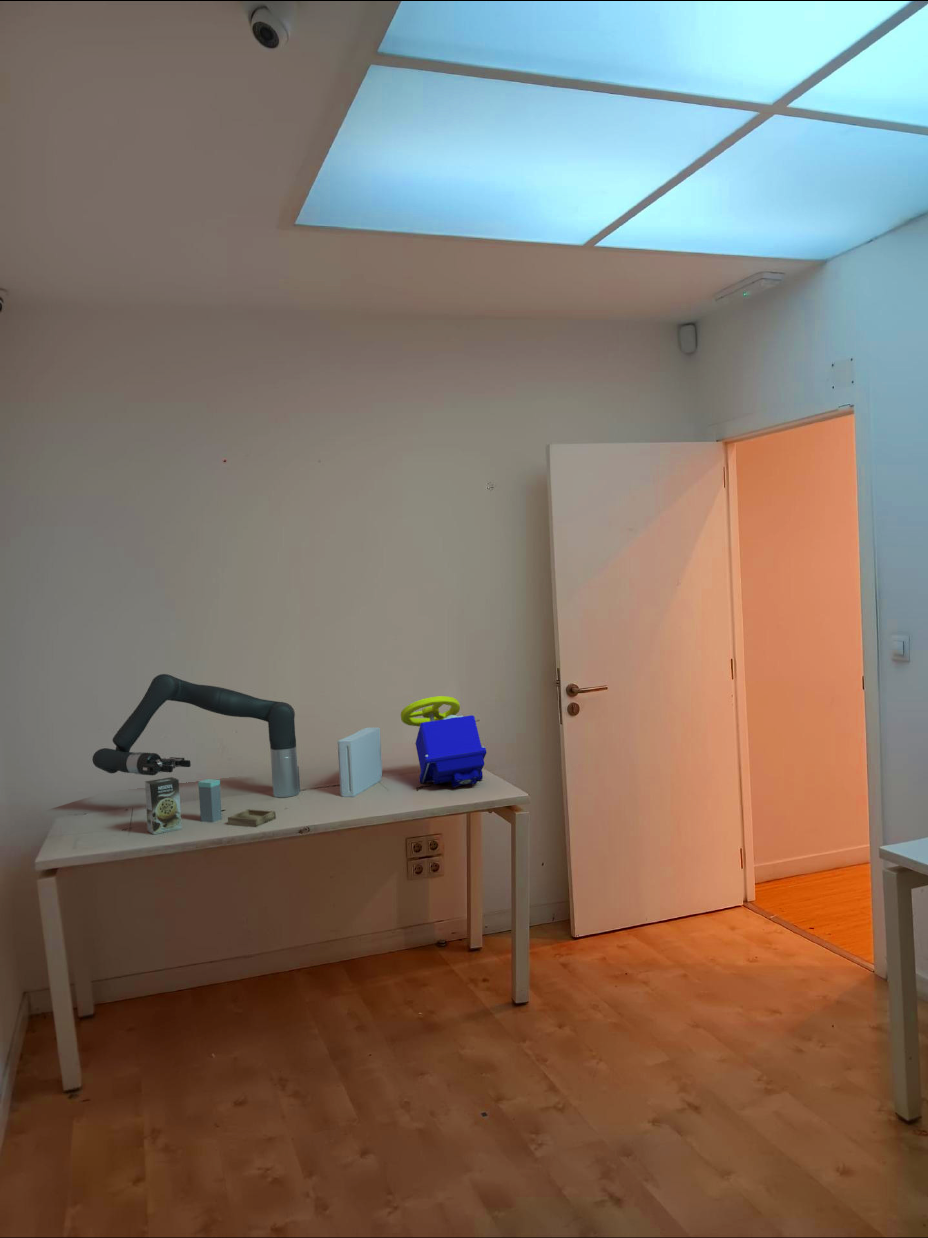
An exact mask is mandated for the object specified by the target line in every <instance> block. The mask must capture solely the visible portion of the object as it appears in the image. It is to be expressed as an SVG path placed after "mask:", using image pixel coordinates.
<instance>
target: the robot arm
mask: <svg viewBox="0 0 928 1238" xmlns="http://www.w3.org/2000/svg"><path fill="white" fill-rule="evenodd" d="M167 701H171V702H178V703H180V702H181V703H185V704H189V705H192V706H195V707H198V708H199V709H202V710H206V711H209V712H212V713H215V714H218V715H219V714H220V715H223V716H227V717H236V718H237V717H238V718H249V719H250V718H252V719H257V720H260V721H264V722H266V723H267V725H268V740H269V747H270V761H271V762H270V763H271V781H272V796H273V797H275V798H287V797H290V798H291V797H294V796H297V795H299V793H300V792H301V783H300V782H301V781H300V767H299V766H298V754H297V737H296V730H295V729H296V728H295V727H296V726H295V717H296V713H295V709H294V708H293V706H292V705H291V704H289V703H287V702H284V701H276V700H275V701H274V700H270V699H263V698H258V697H254V696H253V695H249V694H246V693H242V692H239V691H236V690H232V689H229V688H225V687H220V686H215V685H207V684H197V683H193V682H190V681H188V680H187V681H186V680H183V679H181V678H178V677H176V676H173V675H171V674H167V673H162V674H158V675H156V676H155V677H153V678H152V680H151V682H150V685H149V686H148V689H147V690H146V692H145V694H144V695H143V698H142V699H141V700H140V702H139V704H138V705H137V706H136V708H135V709H134V710H133V712H132V713H131V714H130V715H129V716H128V717H127V719H126V720H125V722H124V723H123V724H122V725H121V727H120V728H119V729H118V730H117V732H116V733H115V734H114V736H113V737H112V739H111V740H112V743H113V744H114V745H115V746H116V747H115V749H113V748H108V747H107V748H106V747H104V748H99V749H97V750H96V751H95V752H94V753H93V755H92V759H91V760H92V763H93V765H94V767H96V768H97V769H100V770H101V771H104V772H107V773H108V774H116V773H118V772H122V773H125V774H126V773H127V774H135V775H141V776H142V775H143V776H155V775H156V776H157V774H158V773H160V774H161V773H174V772H173V770H174V769H176V768H179V767H180V768H189V767H191V766H192V765H191V760H189V759H188V760H187V759H185V757H172V756H170V757H168V758H166V757H161V756H160V755H159V754H158V753H156V752H142V751H139V752H138V751H137V752H133V751H132V752H131V748H132V747H133V746H134V745H135V743H137V740H138V739H139V738H140V737H141V735H142V734H143V733H144V731H145V730H146V728H147V726H148V724H149V722H150V721H151V719H152V718H153V716H154V715H155V714H156V712H157V711H158V710H159V709H160V708H161V707H162V706H163V705H164V704H165V703H166V702H167Z"/></svg>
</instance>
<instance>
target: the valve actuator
mask: <svg viewBox="0 0 928 1238" xmlns="http://www.w3.org/2000/svg"><path fill="white" fill-rule="evenodd" d="M443 705H447V706H450V708H449V709H448V710H446V711H445V712H440V709H439V708H441V707H442V706H443ZM418 710H419V711H418ZM460 710H461V705H460V701H458V700H457V699H456V698H454V697H452V696H445V695H439V696H437V695H436V696H431V697H426V698H423V699H419V700H416V701H414V702H412V703H410V704H408V705H407V706H405V707H404V708H403V709H402V710H401V713H400V719H401V721H402V723H403V724H405V725H407V726H412V727H419V728H418V731H417V732H418V733H417V737H416V739H415V746H416V747H415V748H416V753H417V758H418V763H419V767H420V775H419V777H418V778H419V779H418V780H419V783H420V784H425V783H429V782H430V781H431V782H433V784H434V785H437V784H439V785H440V784H445V783H449V782H450V783H451V787H452V788H453V789H454V788H457V787H459V786H465V785H471V786H472V785H475V784H477V781H483V778H484V777H483V776H484V775H483V768H484V766H485V757H486V756H487V753H488V752H487V749H486V747H485V746H484V745H482V743H481V739H480V734H479V730H478V726H477V723H476V719H475V718H476V717H475V716H474V715H472V714H470V715H467V716H465V715H464V716H463V714H462V715H461V714H460V715H459V716H458V715H457V714H458V713H459V712H460ZM421 716H422V717H423V718H422V717H421ZM424 782H425V783H424Z"/></svg>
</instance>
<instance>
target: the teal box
mask: <svg viewBox="0 0 928 1238" xmlns="http://www.w3.org/2000/svg"><path fill="white" fill-rule="evenodd" d="M197 785H198V798H199V811H200V813H199V814H200V816H199V817H200V822H204V823H205V822H206V823H215V822H218V821H220V820H222V818H223V812H222V798H221V780H220V779H212V778H211V779H210V778H207V779H204V780H201V781H198V784H197Z"/></svg>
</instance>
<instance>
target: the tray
mask: <svg viewBox="0 0 928 1238" xmlns="http://www.w3.org/2000/svg"><path fill="white" fill-rule="evenodd" d="M276 815H277V814H276V811H272V810H259V809H246V810H243V811H241V812H238V813H236V814H233V815H231V816H228V817H227V826H228V825H229V826H238V827H239V826H240V827H248V826H250V828H257V826H258V827H260V826H262V825H265V824H266V823H268V821H269V822H271V821H274V820H276V819H277V818H276V817H277V816H276ZM273 819H274V820H273ZM259 825H260V826H259Z"/></svg>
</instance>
